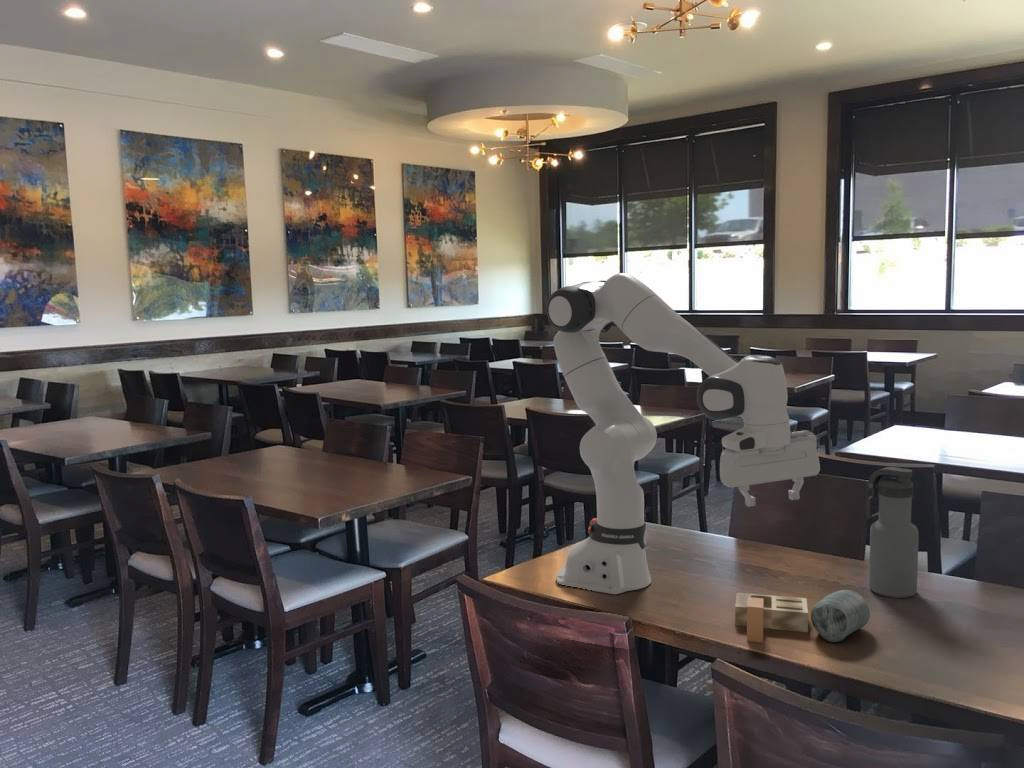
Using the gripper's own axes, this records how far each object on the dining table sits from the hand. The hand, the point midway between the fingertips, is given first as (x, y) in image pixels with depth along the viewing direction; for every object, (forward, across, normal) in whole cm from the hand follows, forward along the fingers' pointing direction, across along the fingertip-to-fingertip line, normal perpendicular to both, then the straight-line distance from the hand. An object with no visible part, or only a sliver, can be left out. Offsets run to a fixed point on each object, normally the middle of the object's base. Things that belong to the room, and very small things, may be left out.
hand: (772, 502), depth 164 cm
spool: (+26, -8, +8) cm, 29 cm away
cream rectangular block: (+25, +2, -1) cm, 25 cm away
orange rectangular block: (+25, +8, +6) cm, 27 cm away
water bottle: (+28, -32, -11) cm, 44 cm away
